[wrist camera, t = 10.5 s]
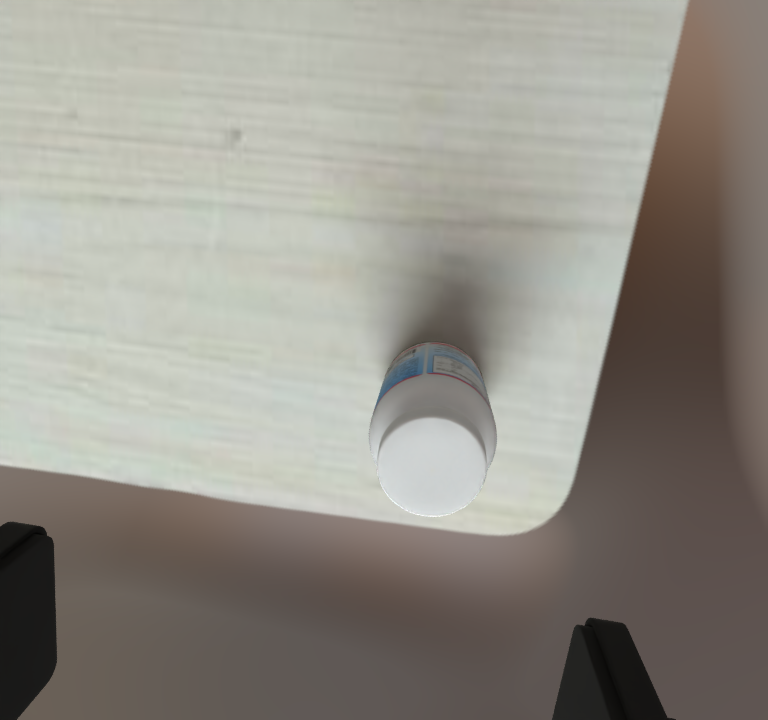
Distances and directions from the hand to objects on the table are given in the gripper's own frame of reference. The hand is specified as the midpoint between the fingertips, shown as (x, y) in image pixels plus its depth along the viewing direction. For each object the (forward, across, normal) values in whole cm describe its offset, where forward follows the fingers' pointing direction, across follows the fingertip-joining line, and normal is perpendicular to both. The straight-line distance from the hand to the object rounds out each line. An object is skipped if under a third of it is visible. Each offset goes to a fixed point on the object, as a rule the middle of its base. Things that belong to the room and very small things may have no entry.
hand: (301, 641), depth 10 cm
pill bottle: (+25, -2, +3) cm, 26 cm away
